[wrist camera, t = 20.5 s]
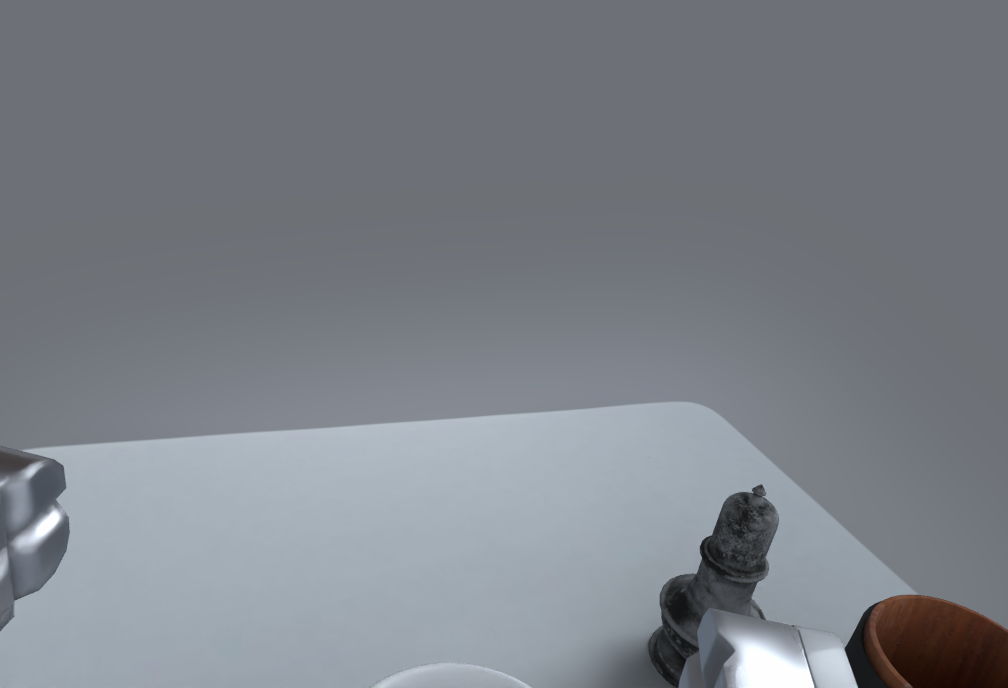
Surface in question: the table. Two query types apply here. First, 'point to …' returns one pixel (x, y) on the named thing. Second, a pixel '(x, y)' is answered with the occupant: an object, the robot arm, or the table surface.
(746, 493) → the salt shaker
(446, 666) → the drinking glass
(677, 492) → the table surface
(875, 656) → the mug
